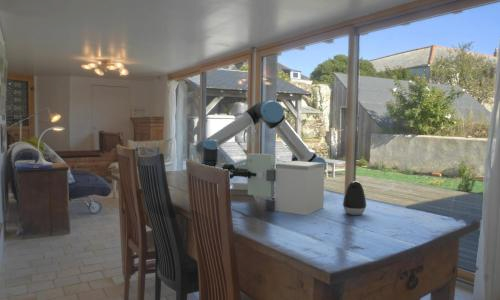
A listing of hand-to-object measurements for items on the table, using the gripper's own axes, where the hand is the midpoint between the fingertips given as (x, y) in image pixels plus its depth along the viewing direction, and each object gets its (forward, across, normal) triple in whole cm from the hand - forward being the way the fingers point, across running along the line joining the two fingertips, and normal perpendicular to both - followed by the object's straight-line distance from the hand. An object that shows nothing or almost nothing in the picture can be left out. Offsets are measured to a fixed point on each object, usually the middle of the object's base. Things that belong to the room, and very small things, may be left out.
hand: (264, 174), depth 185 cm
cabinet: (+14, -9, -16) cm, 23 cm away
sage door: (-2, 0, -10) cm, 10 cm away
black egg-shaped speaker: (+39, -15, -16) cm, 45 cm away
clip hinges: (+5, -1, -16) cm, 17 cm away
